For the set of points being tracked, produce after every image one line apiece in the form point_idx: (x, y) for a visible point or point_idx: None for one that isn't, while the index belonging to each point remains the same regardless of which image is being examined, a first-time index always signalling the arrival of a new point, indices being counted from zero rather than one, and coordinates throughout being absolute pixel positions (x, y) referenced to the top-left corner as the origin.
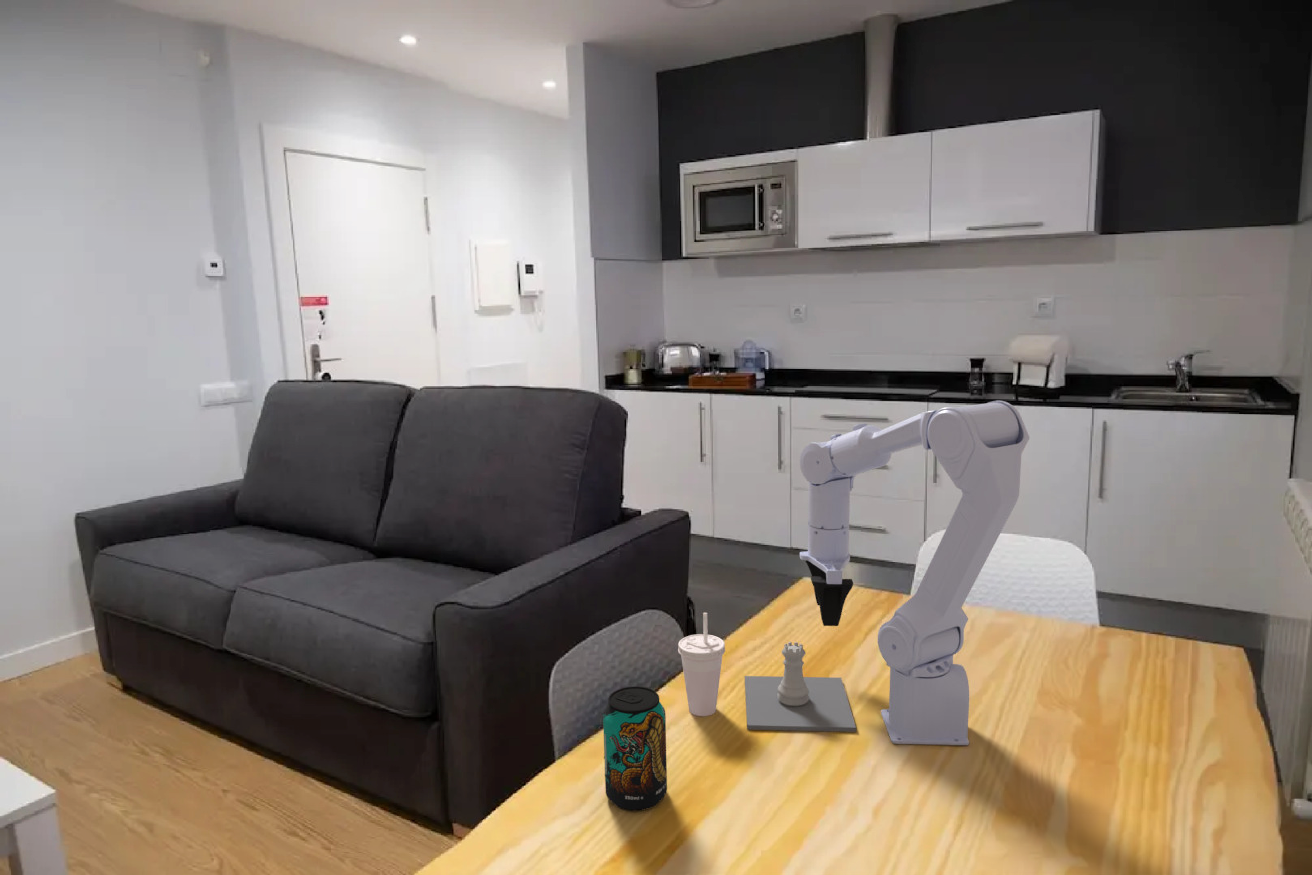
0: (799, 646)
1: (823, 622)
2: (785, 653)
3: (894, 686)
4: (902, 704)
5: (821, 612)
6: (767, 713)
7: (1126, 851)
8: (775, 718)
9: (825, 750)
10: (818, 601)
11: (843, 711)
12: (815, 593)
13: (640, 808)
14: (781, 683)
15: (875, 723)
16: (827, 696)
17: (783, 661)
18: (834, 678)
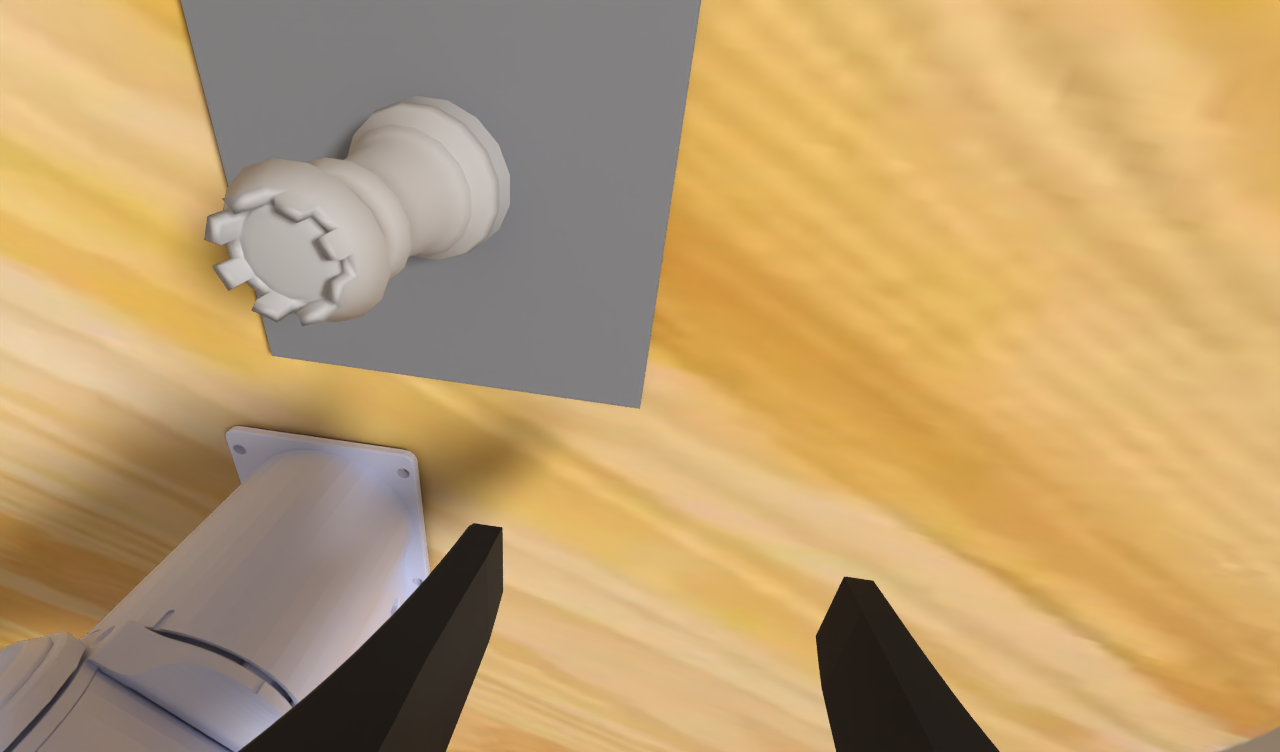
0: (318, 302)
1: (458, 540)
2: (237, 181)
3: (174, 564)
4: (189, 534)
5: (409, 597)
6: (294, 13)
7: (7, 635)
8: (257, 49)
9: (125, 216)
10: (848, 605)
11: (376, 347)
12: (879, 652)
13: None
14: (394, 127)
15: (352, 416)
16: (487, 323)
17: (346, 163)
18: (634, 385)
